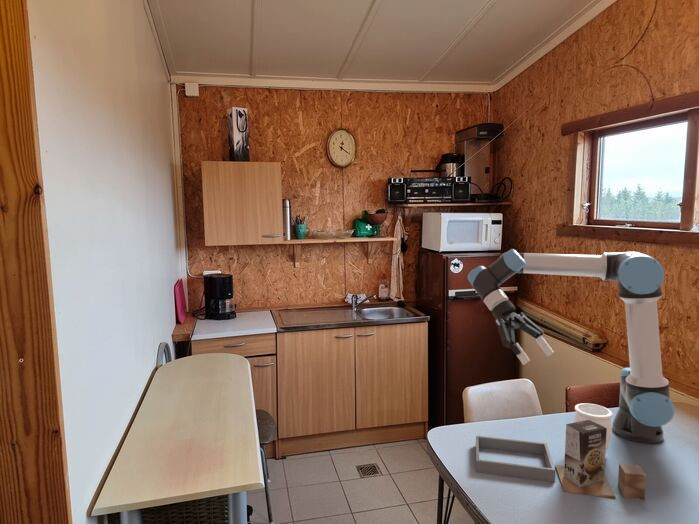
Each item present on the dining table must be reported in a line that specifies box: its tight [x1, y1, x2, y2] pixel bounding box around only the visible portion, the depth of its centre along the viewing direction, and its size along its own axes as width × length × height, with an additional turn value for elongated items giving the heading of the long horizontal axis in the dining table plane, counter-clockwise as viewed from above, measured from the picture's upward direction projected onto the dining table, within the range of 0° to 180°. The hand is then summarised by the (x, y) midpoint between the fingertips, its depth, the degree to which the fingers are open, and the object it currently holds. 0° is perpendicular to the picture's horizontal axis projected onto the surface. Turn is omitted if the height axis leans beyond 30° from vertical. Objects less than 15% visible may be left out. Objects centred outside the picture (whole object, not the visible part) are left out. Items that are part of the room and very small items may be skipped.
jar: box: [573, 402, 613, 460], centre depth 145 cm, size 11×10×15 cm
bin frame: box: [475, 435, 556, 483], centre depth 142 cm, size 22×16×4 cm
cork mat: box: [554, 464, 616, 499], centre depth 131 cm, size 13×13×1 cm
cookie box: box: [563, 420, 607, 487], centre depth 131 cm, size 9×6×16 cm
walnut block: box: [617, 462, 647, 501], centre depth 125 cm, size 5×5×7 cm
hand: (539, 358), depth 146 cm, fingers open, 13 cm apart
